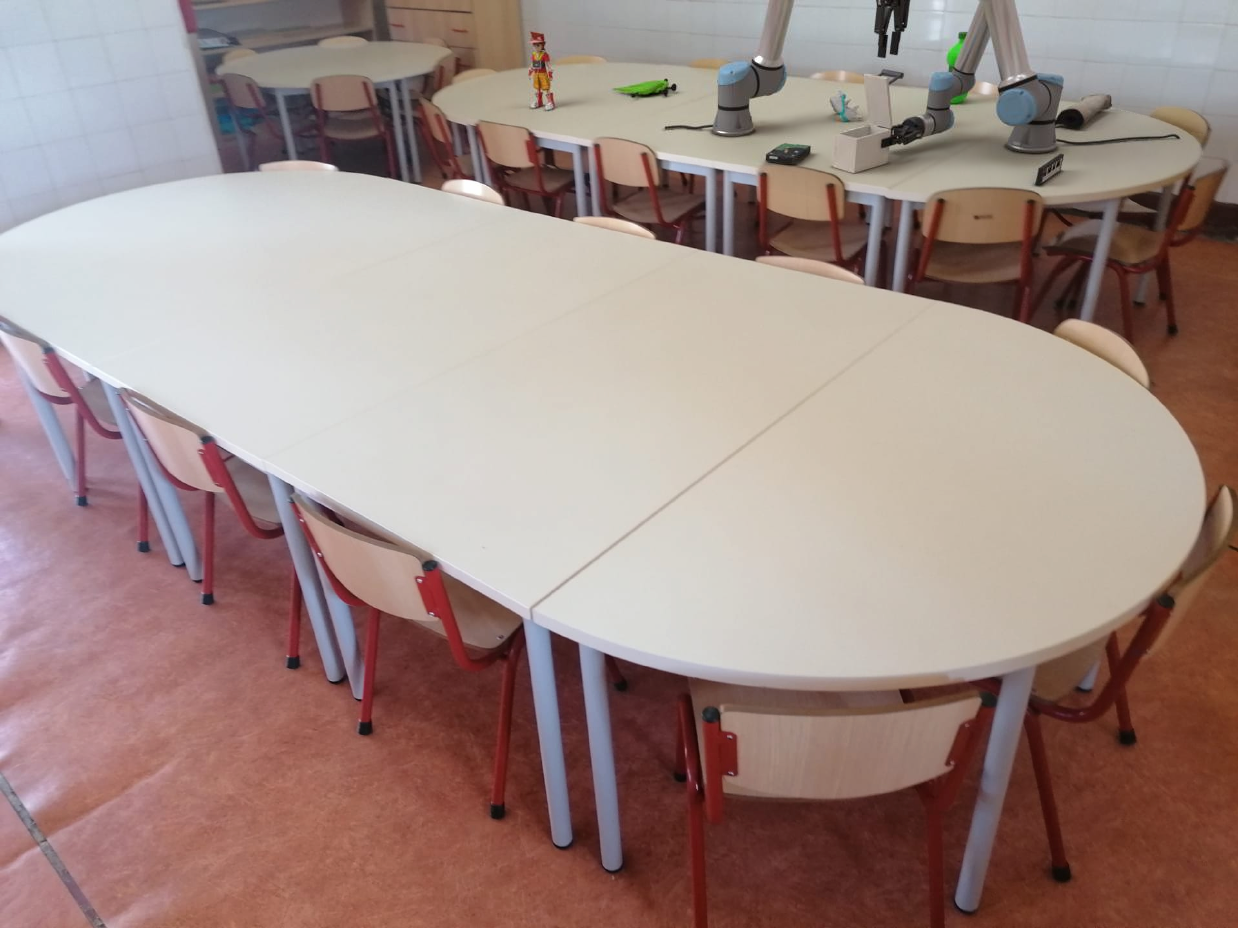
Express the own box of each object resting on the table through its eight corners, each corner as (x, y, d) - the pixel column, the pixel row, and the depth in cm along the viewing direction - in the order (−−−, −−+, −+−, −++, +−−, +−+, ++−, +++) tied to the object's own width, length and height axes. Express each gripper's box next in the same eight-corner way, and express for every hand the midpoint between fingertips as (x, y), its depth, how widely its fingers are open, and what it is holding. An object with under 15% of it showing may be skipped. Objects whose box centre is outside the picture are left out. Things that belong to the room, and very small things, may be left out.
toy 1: (525, 109, 381) (517, 32, 364) (534, 104, 388) (527, 28, 371) (550, 110, 377) (543, 32, 360) (559, 105, 384) (553, 28, 367)
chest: (853, 173, 288) (857, 139, 282) (832, 167, 295) (835, 133, 289) (887, 163, 295) (891, 130, 289) (865, 157, 302) (869, 124, 296)
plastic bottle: (973, 101, 354) (984, 32, 339) (955, 106, 349) (966, 36, 335) (952, 97, 361) (962, 29, 346) (934, 102, 356) (944, 33, 342)
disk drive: (793, 166, 298) (810, 153, 308) (794, 157, 296) (811, 145, 306) (765, 162, 303) (782, 150, 313) (765, 154, 301) (783, 142, 311)
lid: (886, 79, 278) (905, 66, 280) (863, 75, 284) (882, 62, 286) (890, 128, 289) (908, 116, 291) (868, 123, 295) (886, 111, 297)
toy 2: (686, 85, 398) (631, 84, 414) (685, 72, 395) (629, 72, 411) (651, 104, 381) (596, 103, 397) (650, 92, 378) (594, 91, 394)
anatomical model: (825, 90, 346) (850, 83, 345) (827, 117, 352) (853, 110, 351) (835, 99, 333) (862, 92, 333) (838, 127, 339) (864, 120, 338)
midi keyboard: (1039, 185, 269) (1043, 168, 266) (1035, 184, 270) (1038, 168, 267) (1060, 170, 279) (1064, 154, 277) (1056, 169, 280) (1060, 153, 277)
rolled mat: (1079, 99, 336) (1104, 81, 328) (1092, 119, 337) (1117, 102, 329) (1048, 120, 319) (1073, 103, 311) (1062, 142, 319) (1088, 125, 311)
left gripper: (886, -24, 260) (877, 62, 274) (927, -31, 268) (916, 53, 282) (866, -26, 266) (858, 59, 279) (907, -33, 273) (897, 50, 287)
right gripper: (941, 145, 297) (895, 159, 287) (890, 133, 312) (844, 145, 303) (945, 122, 293) (897, 135, 283) (892, 110, 308) (846, 122, 298)
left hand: (887, 56), depth 280 cm, fingers open, 5 cm apart
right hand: (870, 140), depth 293 cm, fingers closed on chest, 9 cm apart
